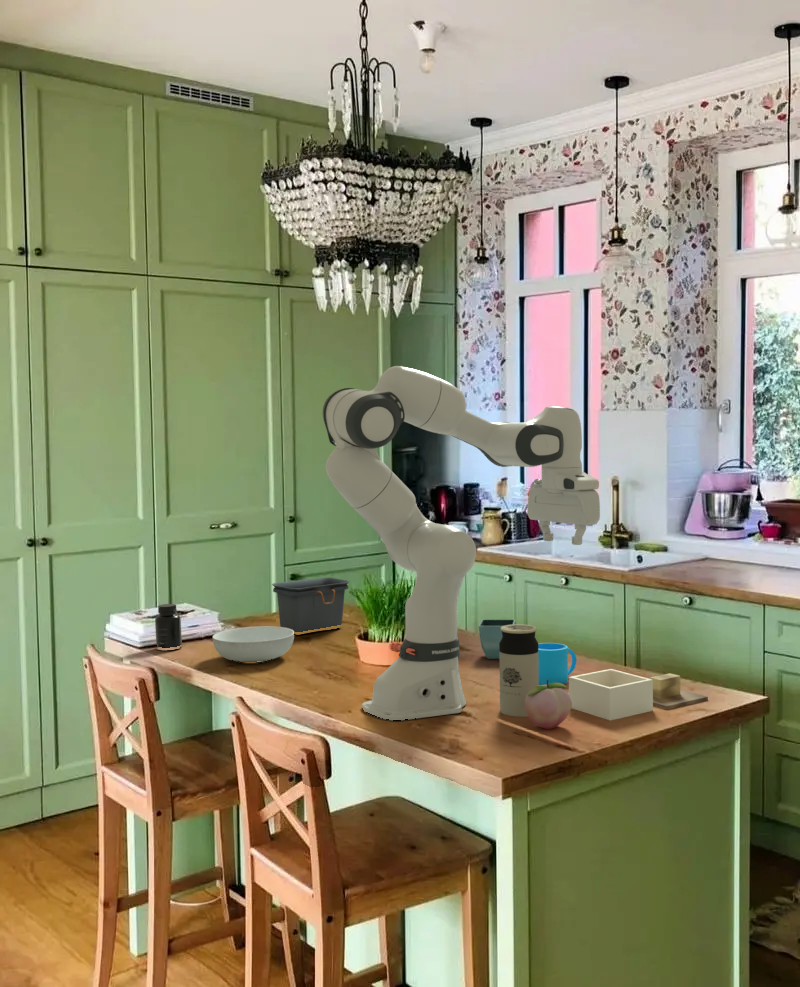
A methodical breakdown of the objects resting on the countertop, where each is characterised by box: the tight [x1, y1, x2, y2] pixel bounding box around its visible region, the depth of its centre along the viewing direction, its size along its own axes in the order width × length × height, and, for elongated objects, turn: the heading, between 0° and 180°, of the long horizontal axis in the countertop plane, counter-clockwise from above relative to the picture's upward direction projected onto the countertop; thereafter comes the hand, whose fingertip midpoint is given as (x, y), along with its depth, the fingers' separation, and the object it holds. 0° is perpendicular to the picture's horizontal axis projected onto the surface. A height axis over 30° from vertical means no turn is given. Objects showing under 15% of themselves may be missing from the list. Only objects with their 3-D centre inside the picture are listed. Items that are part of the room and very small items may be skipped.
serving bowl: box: [212, 625, 295, 663], centre depth 277 cm, size 21×21×7 cm
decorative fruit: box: [525, 680, 572, 730], centre depth 210 cm, size 9×8×10 cm
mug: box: [538, 642, 578, 685], centre depth 249 cm, size 12×8×8 cm
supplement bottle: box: [154, 603, 183, 648], centre depth 291 cm, size 7×7×12 cm
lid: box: [649, 672, 709, 711], centre depth 229 cm, size 12×12×5 cm
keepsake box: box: [568, 668, 654, 721], centre depth 222 cm, size 12×12×7 cm
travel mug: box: [499, 623, 539, 718], centre depth 221 cm, size 8×8×18 cm
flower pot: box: [478, 618, 516, 660], centre depth 274 cm, size 9×9×9 cm
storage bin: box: [271, 577, 350, 632], centre depth 312 cm, size 21×16×14 cm
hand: (562, 542), depth 238 cm, fingers open, 8 cm apart
